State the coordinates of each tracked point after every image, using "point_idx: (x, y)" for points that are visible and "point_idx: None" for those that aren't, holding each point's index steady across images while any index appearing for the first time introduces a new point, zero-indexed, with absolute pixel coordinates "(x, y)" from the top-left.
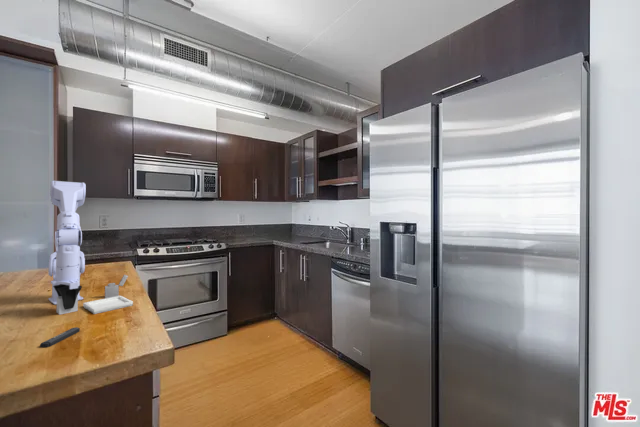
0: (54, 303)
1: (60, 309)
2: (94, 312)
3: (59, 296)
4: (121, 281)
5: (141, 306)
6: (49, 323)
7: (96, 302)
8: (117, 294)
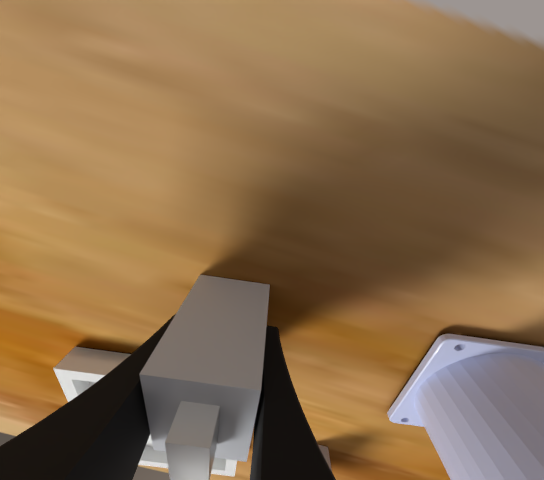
0: (449, 338)
1: (189, 300)
2: (68, 355)
3: (253, 402)
4: None
5: None
6: (40, 183)
7: None
8: None
